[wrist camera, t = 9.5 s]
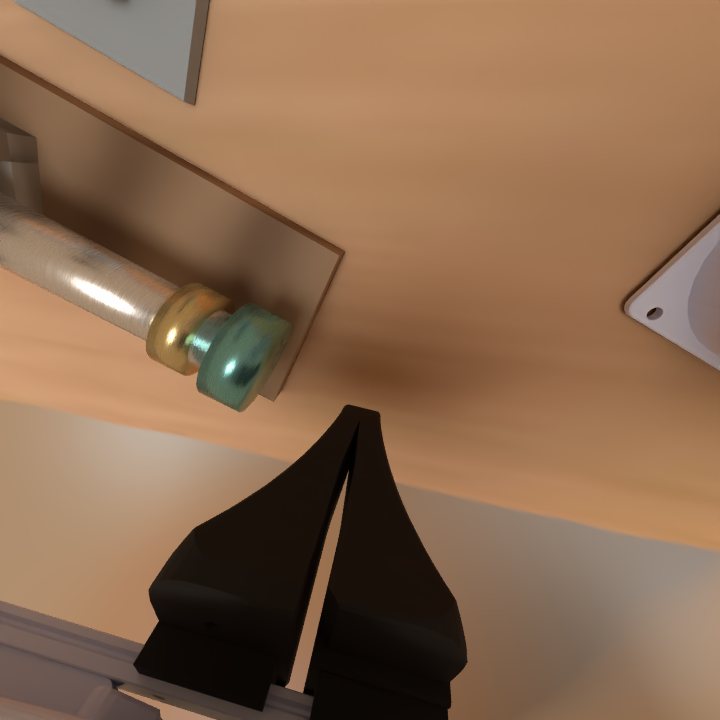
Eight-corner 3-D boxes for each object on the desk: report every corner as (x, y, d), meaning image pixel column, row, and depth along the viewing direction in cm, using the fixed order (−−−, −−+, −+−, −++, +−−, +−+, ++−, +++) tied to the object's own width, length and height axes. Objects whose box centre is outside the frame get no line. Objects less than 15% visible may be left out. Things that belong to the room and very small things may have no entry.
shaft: (301, 309, 13) (256, 352, 9) (273, 376, 15) (228, 432, 11) (-43, 122, 11) (-246, 91, 8) (-22, 224, 13) (-176, 235, 10)
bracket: (344, 251, 13) (294, 290, 8) (280, 391, 18) (221, 475, 12) (-93, 2, 11) (-529, -161, 6) (-39, 228, 16) (-264, 245, 11)
